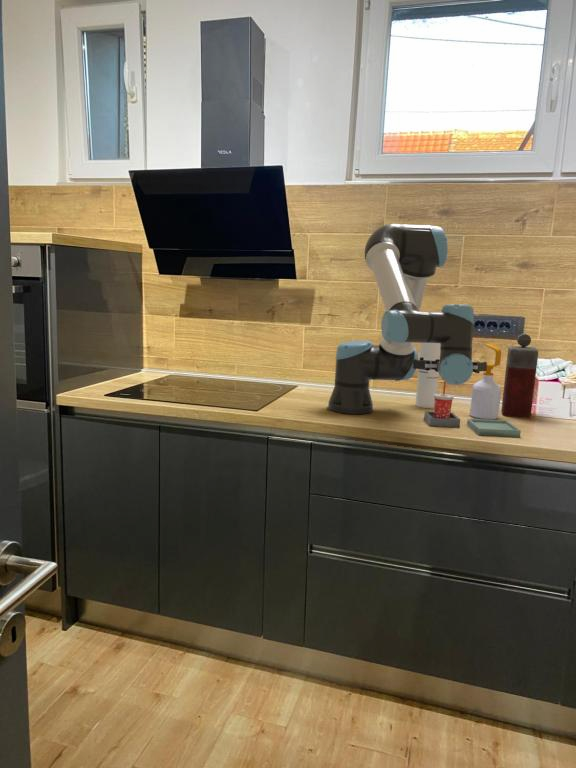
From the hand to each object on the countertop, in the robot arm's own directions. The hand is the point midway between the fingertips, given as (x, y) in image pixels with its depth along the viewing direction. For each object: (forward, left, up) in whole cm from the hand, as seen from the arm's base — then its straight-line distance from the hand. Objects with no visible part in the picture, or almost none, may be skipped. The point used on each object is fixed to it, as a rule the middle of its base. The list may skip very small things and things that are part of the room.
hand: (447, 364), depth 170 cm
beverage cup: (+1, +7, -20) cm, 22 cm away
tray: (+15, 0, -20) cm, 25 cm away
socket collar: (+1, +7, -20) cm, 21 cm away
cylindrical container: (+1, +32, -20) cm, 38 cm away
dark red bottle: (+31, +26, -20) cm, 46 cm away
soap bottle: (+18, +19, -20) cm, 34 cm away
